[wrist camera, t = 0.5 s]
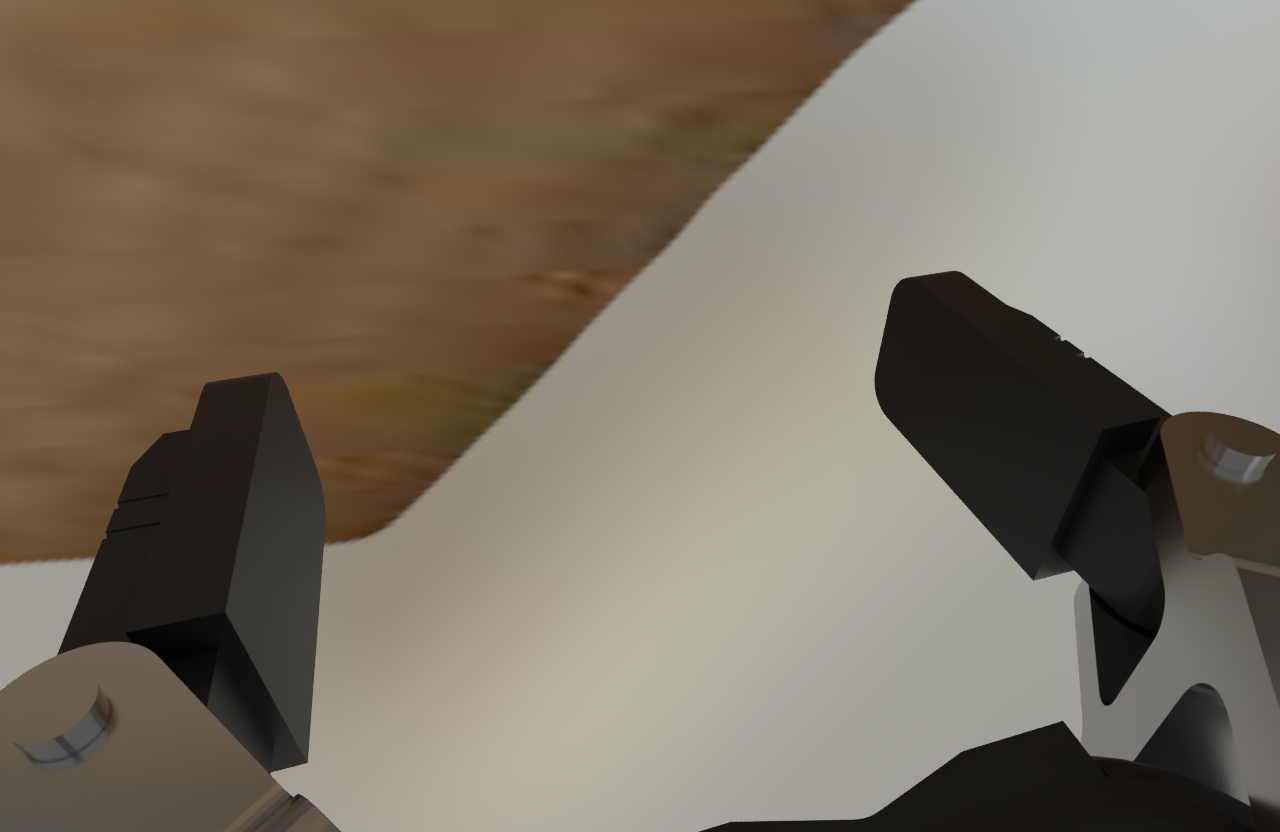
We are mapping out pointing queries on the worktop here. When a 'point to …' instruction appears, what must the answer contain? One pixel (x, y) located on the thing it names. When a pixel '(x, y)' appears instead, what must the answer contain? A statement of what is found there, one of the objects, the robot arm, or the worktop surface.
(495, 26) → the worktop surface
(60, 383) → the worktop surface
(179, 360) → the worktop surface
